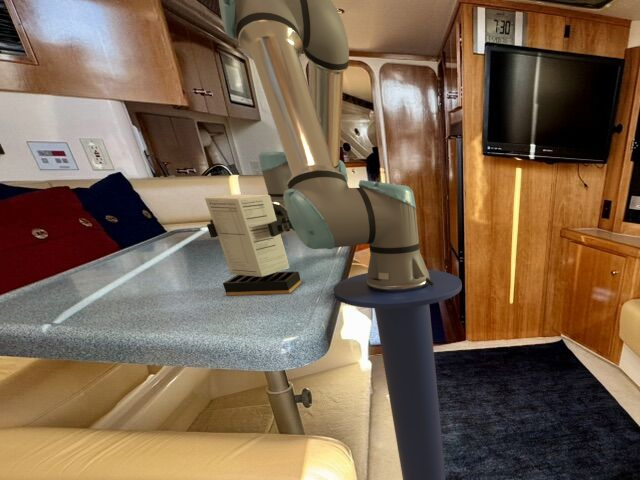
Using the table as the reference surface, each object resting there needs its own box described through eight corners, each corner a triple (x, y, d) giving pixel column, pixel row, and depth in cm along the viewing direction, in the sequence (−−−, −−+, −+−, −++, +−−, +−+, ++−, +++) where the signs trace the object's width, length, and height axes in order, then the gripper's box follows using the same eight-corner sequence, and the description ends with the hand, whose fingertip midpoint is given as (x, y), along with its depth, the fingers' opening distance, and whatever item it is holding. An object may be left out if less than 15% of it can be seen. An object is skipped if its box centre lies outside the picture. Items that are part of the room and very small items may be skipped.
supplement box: (291, 268, 100) (272, 194, 91) (262, 277, 92) (238, 198, 84) (259, 265, 102) (238, 193, 94) (229, 274, 94) (202, 196, 86)
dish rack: (301, 282, 104) (298, 271, 103) (289, 293, 96) (286, 281, 94) (244, 284, 102) (240, 272, 101) (226, 295, 94) (222, 283, 92)
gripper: (325, 231, 111) (302, 247, 92) (232, 232, 108) (188, 248, 89) (319, 202, 107) (293, 212, 89) (222, 202, 104) (175, 212, 85)
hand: (241, 230), depth 89 cm, fingers closed on supplement box, 12 cm apart
